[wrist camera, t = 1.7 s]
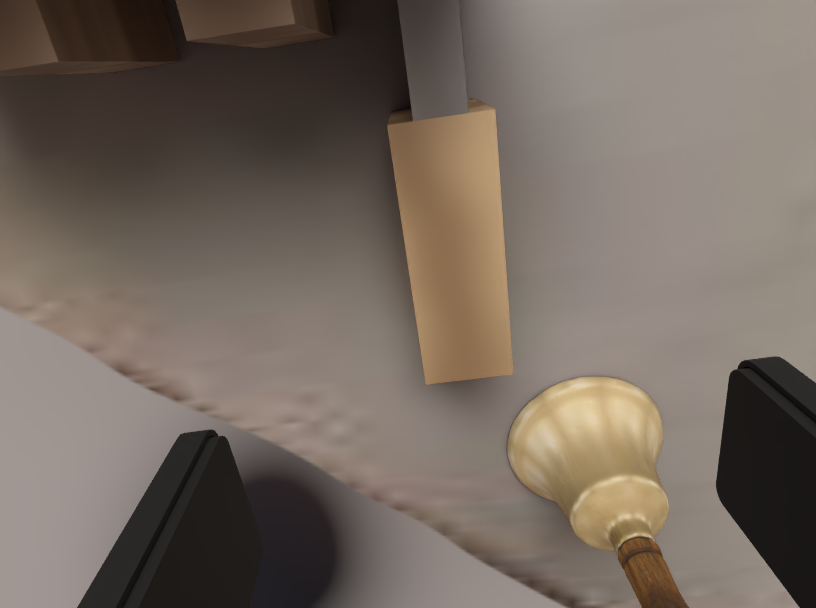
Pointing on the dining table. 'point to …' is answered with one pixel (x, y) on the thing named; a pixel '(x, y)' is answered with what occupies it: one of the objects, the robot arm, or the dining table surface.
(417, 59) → the tan and gray block
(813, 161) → the dining table surface
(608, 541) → the hand bell
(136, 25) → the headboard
